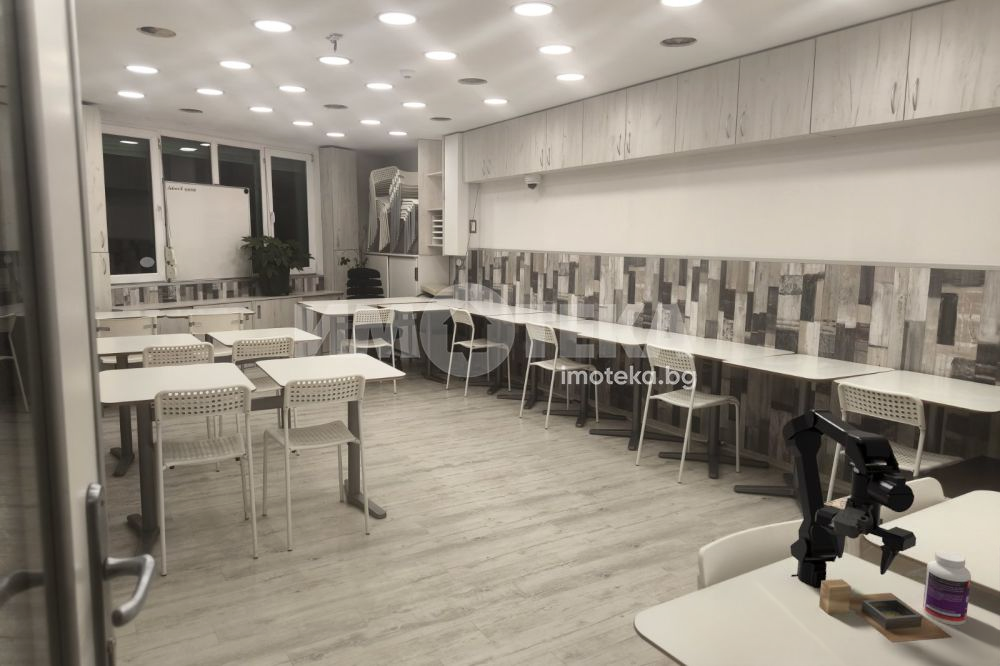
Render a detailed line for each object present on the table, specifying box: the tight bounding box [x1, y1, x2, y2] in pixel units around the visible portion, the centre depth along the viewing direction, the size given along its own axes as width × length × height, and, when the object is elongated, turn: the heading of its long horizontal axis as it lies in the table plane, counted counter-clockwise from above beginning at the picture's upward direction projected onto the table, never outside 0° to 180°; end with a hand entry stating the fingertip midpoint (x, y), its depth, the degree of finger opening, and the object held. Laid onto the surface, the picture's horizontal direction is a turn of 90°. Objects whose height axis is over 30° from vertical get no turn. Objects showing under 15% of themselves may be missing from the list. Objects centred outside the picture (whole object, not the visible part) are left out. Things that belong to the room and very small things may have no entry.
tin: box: [861, 597, 922, 630], centre depth 148 cm, size 7×8×2 cm
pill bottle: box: [922, 549, 972, 626], centre depth 150 cm, size 8×8×14 cm
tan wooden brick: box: [818, 578, 852, 615], centre depth 151 cm, size 3×5×7 cm, turn 99°
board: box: [849, 592, 953, 643], centre depth 150 cm, size 18×14×1 cm
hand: (860, 565), depth 147 cm, fingers open, 9 cm apart
